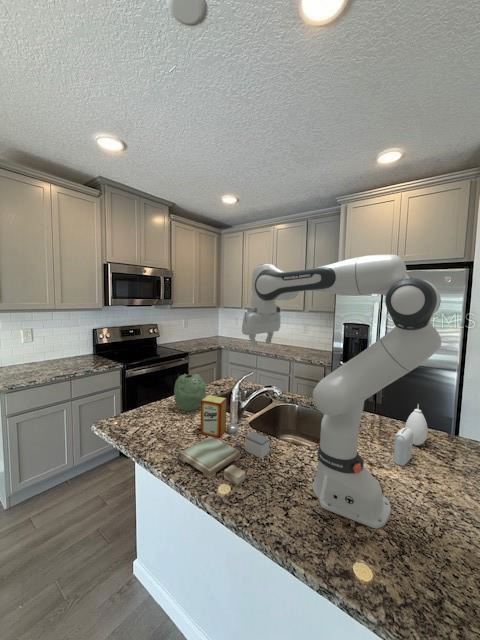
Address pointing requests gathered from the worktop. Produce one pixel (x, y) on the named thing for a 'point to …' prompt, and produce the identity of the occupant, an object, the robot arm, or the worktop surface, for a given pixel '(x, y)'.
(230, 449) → the stand
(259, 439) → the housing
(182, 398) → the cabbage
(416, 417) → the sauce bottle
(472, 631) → the worktop surface
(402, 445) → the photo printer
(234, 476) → the beech block
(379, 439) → the worktop surface
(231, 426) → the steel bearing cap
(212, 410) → the baking soda box
